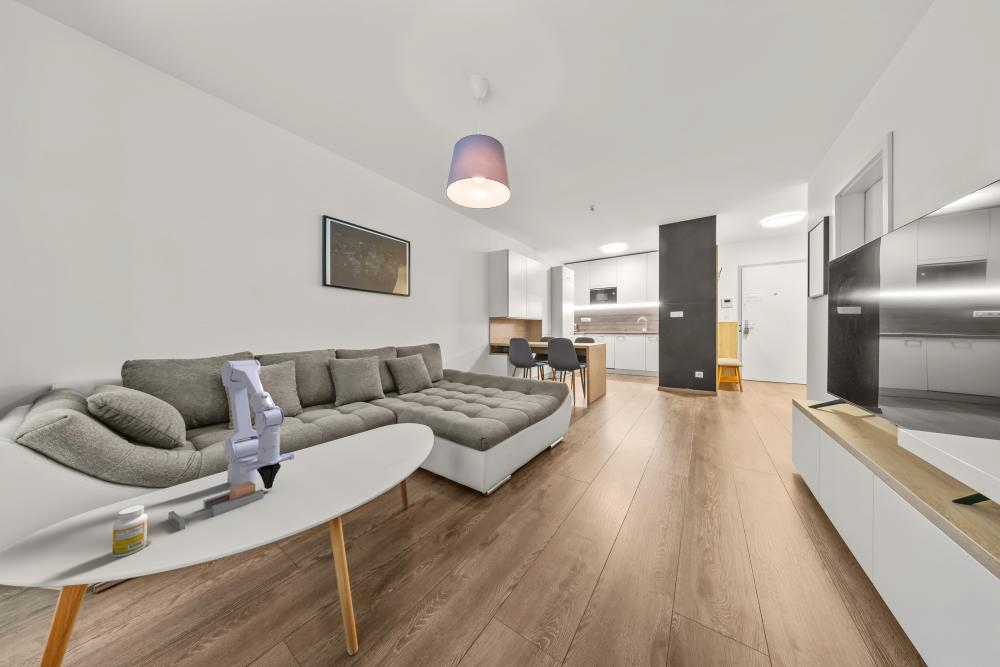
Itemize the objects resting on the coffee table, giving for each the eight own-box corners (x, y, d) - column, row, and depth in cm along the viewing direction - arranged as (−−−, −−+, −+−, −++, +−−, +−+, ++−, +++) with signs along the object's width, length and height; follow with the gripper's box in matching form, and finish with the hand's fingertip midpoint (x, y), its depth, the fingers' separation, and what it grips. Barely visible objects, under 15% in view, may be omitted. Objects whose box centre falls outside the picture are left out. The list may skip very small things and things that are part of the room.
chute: (167, 523, 85) (168, 510, 85) (261, 490, 104) (261, 480, 104) (179, 534, 80) (179, 521, 80) (275, 498, 99) (275, 487, 99)
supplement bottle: (123, 546, 76) (125, 505, 76) (152, 540, 78) (154, 501, 78) (105, 560, 71) (106, 517, 71) (136, 554, 73) (138, 512, 73)
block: (229, 502, 94) (229, 487, 95) (249, 495, 99) (249, 480, 99) (235, 505, 92) (235, 490, 92) (255, 498, 96) (255, 484, 97)
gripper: (247, 455, 94) (246, 500, 93) (298, 442, 106) (298, 481, 106) (238, 451, 97) (237, 494, 97) (288, 438, 110) (287, 477, 109)
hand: (268, 487), depth 101 cm, fingers closed
